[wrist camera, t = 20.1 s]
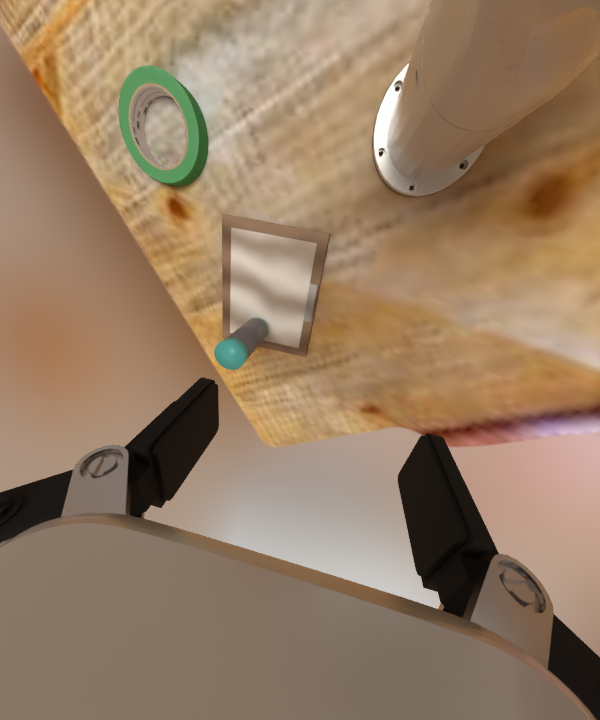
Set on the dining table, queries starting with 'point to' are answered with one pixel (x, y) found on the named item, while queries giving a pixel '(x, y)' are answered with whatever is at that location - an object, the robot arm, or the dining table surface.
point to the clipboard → (272, 279)
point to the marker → (241, 343)
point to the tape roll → (132, 111)
